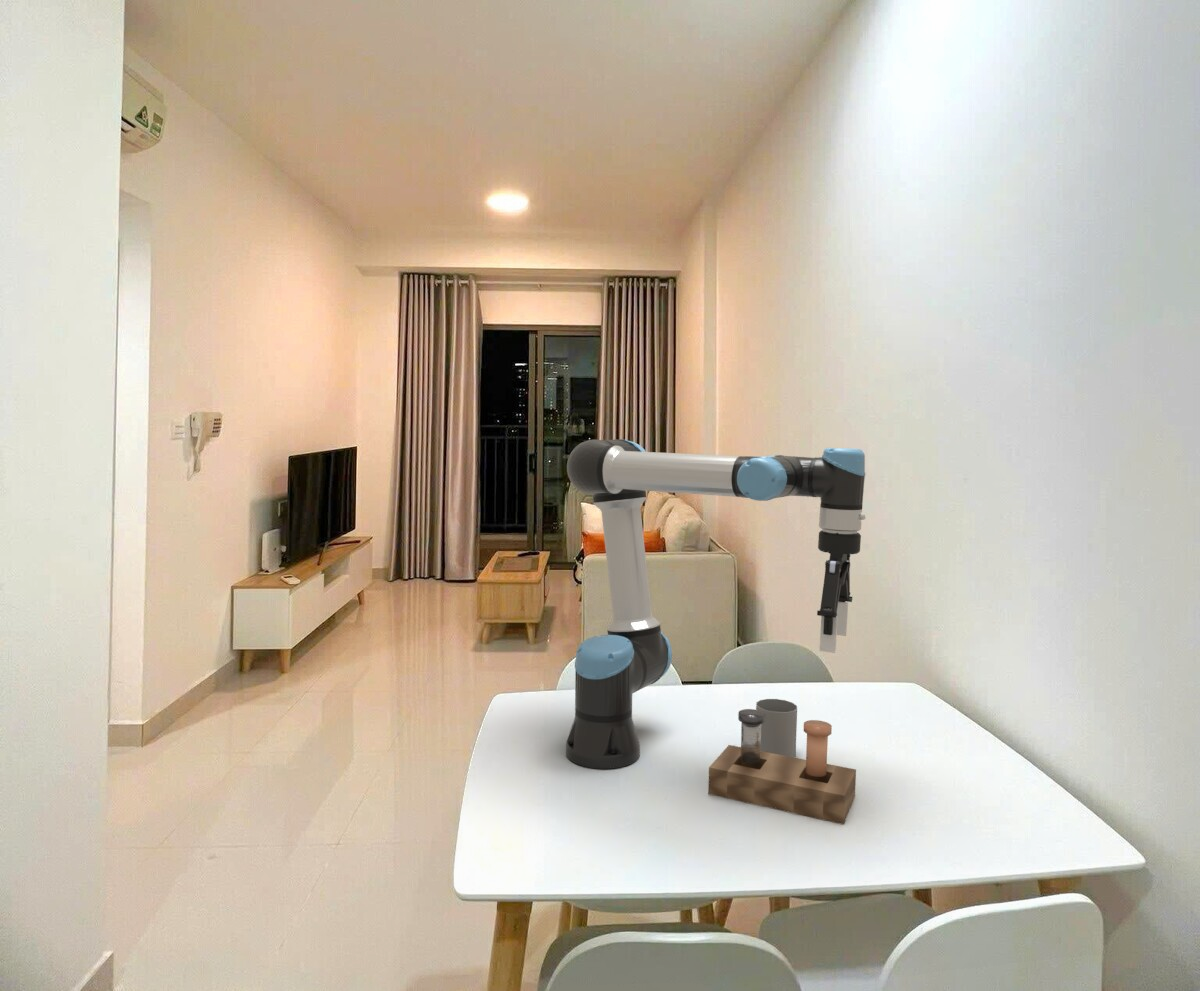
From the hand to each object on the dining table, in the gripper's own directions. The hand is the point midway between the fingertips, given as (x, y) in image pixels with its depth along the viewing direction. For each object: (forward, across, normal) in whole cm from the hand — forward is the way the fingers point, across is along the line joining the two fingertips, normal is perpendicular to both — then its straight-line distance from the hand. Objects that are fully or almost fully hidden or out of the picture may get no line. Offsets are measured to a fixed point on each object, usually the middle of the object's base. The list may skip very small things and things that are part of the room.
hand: (833, 643), depth 148 cm
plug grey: (+21, -10, +12) cm, 27 cm away
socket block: (+27, -10, +6) cm, 29 cm away
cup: (+27, +9, +12) cm, 31 cm away
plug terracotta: (+21, -10, 0) cm, 24 cm away
